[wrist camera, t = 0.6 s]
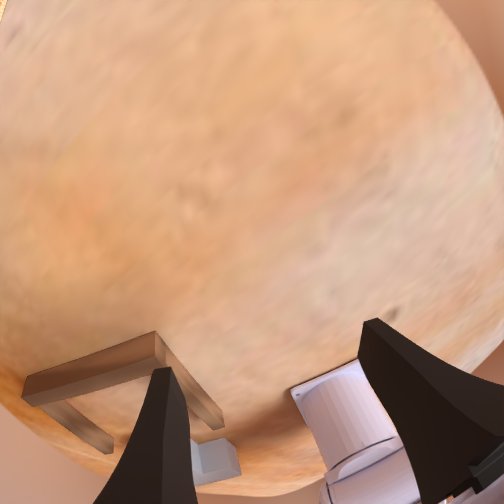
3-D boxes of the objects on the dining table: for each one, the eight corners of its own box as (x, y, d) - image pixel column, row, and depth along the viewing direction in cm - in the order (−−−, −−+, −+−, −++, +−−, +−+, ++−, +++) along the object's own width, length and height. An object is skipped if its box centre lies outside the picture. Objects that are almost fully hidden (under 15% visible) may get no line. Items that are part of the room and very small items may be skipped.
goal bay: (221, 410, 28) (225, 431, 26) (105, 439, 28) (105, 458, 26) (155, 330, 22) (154, 356, 19) (27, 376, 21) (21, 397, 19)
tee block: (235, 447, 33) (242, 475, 29) (164, 464, 33) (167, 491, 29) (197, 412, 28) (203, 447, 24) (116, 433, 27) (116, 465, 24)
